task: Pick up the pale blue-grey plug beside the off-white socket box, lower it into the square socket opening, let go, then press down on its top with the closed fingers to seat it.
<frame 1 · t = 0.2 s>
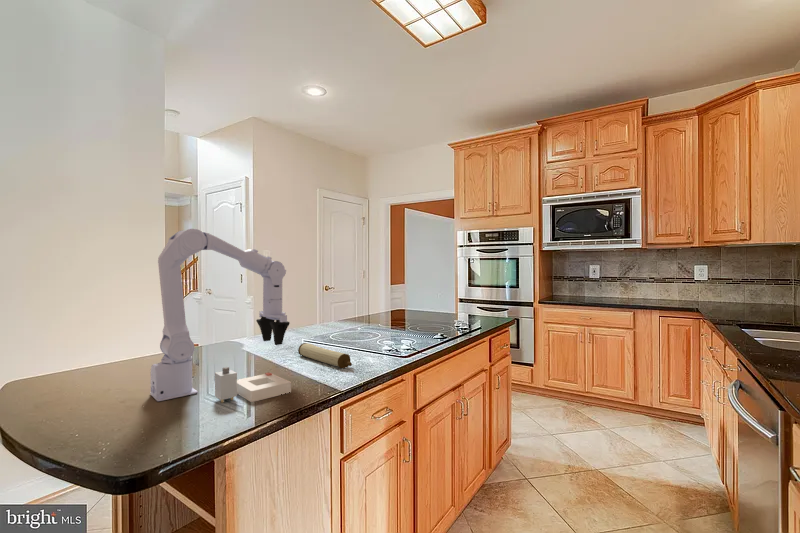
hand: (272, 342, 123), 10 cm above the worktop, tool pointing down, fingers open, 7 cm apart
socket box: (261, 391, 107), on the worktop
rolling pin: (323, 362, 140), on the worktop
plug: (225, 400, 101), on the worktop
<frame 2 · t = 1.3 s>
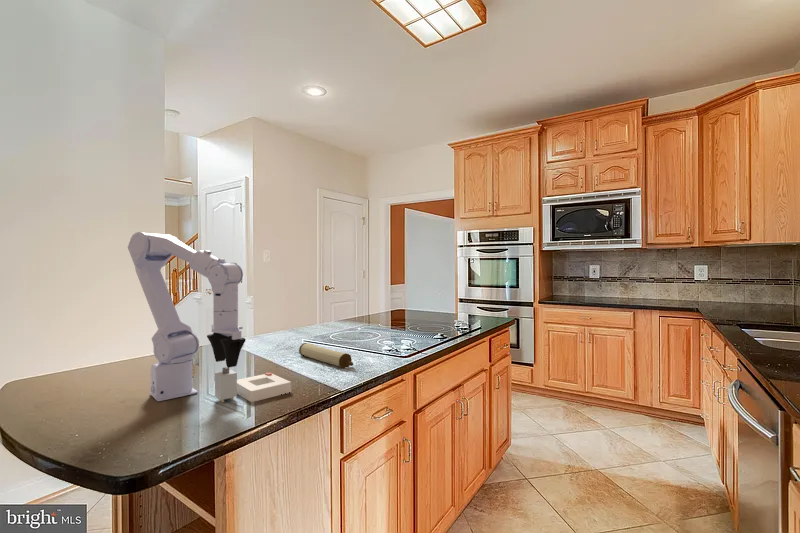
hand: (225, 363, 101), 9 cm above the worktop, tool pointing down, fingers open, 7 cm apart
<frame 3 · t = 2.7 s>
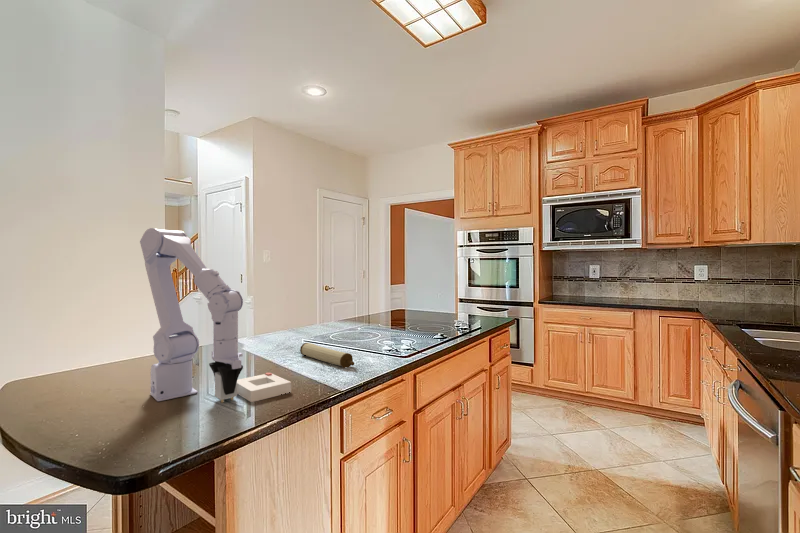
hand: (225, 391, 101), 2 cm above the worktop, tool pointing down, fingers closed on plug, 4 cm apart
plug: (225, 400, 101), on the worktop, touching gripper
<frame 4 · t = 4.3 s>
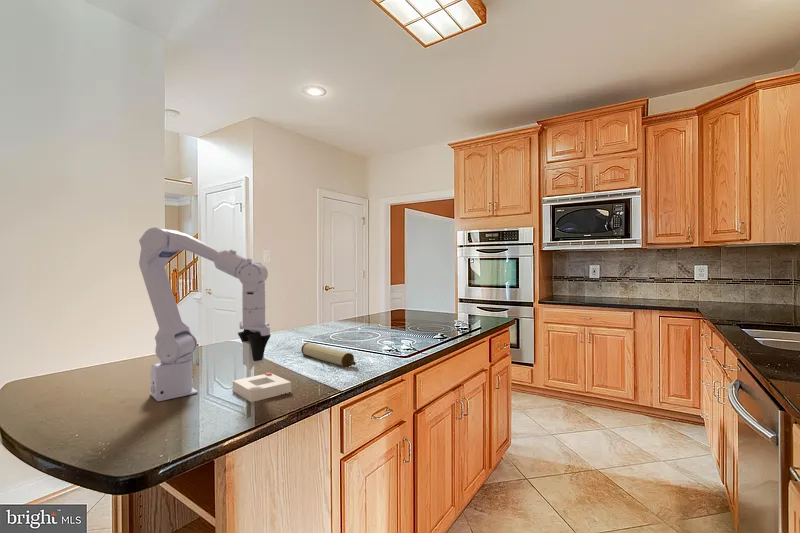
hand: (254, 358, 106), 9 cm above the worktop, tool pointing down, fingers closed on plug, 4 cm apart
plug: (253, 367, 106), point 7 cm above the worktop, touching gripper
when the fingers open (4 cm above the worktop, at t = 5.9 s): plug drops 1 cm, resting in socket box.
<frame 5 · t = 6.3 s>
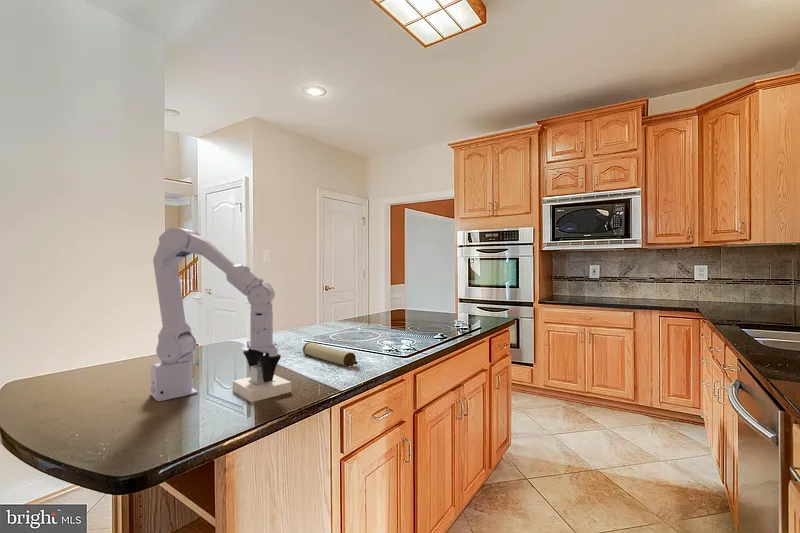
hand: (261, 378, 107), 4 cm above the worktop, tool pointing down, fingers open, 7 cm apart
plug: (260, 391, 107), resting in socket box
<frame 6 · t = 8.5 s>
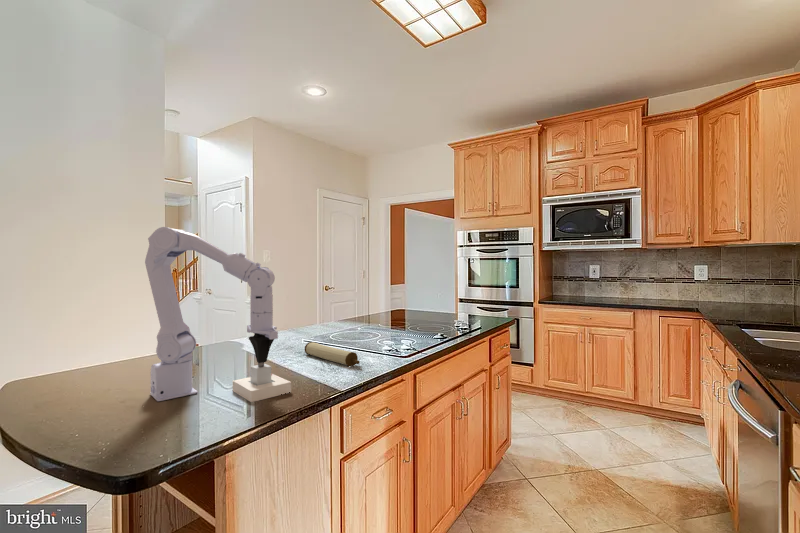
hand: (261, 362, 107), 8 cm above the worktop, tool pointing down, fingers closed, pressing on plug
plug: (260, 391, 107), resting in socket box, touching gripper
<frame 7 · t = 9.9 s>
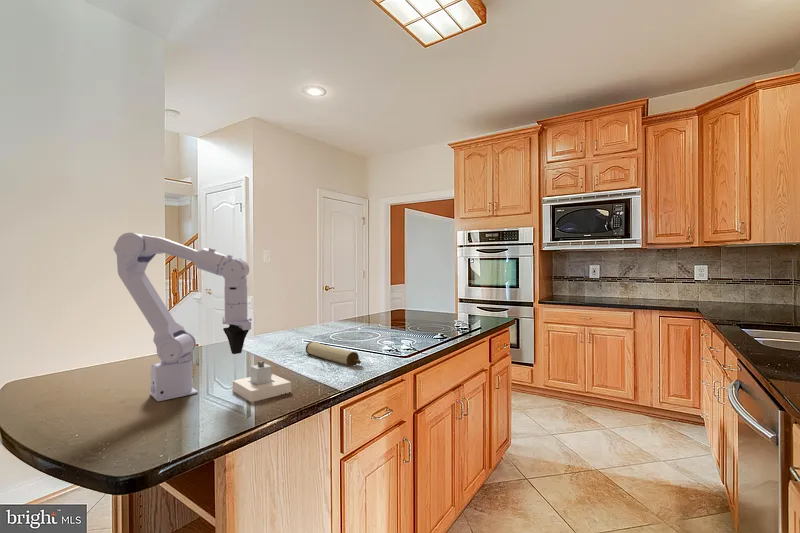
hand: (236, 353, 107), 10 cm above the worktop, tool pointing down, fingers closed
plug: (260, 391, 107), resting in socket box
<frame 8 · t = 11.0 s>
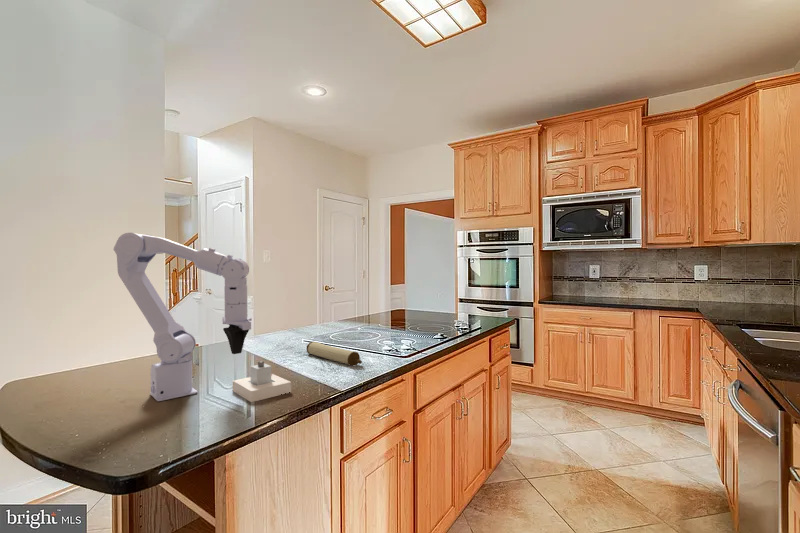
hand: (236, 353, 107), 10 cm above the worktop, tool pointing down, fingers closed
at the end: plug 0.2 cm off-centre on the socket box, point 0.0 cm above the socket box's base; plug tilted 0°; the gripper is holding nothing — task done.
